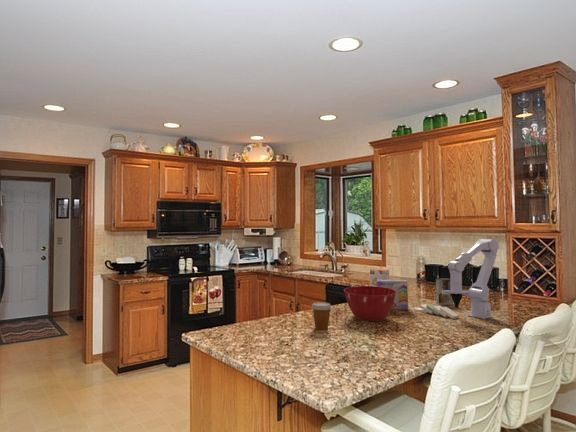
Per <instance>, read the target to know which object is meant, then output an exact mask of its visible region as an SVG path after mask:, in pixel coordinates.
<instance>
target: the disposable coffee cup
mask: <svg viewBox="0 0 576 432" xmlns="http://www.w3.org/2000/svg"><path fill="white" fill-rule="evenodd" d="M331 308H332V305H331V303H329V302H324V301H323V302H321V301H317V302H314V303H312V305H311V309H312V311H313V321H314V328H315V329H316V330H320V331H324V330H328V328H329V322H330V313H331Z"/></svg>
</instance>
